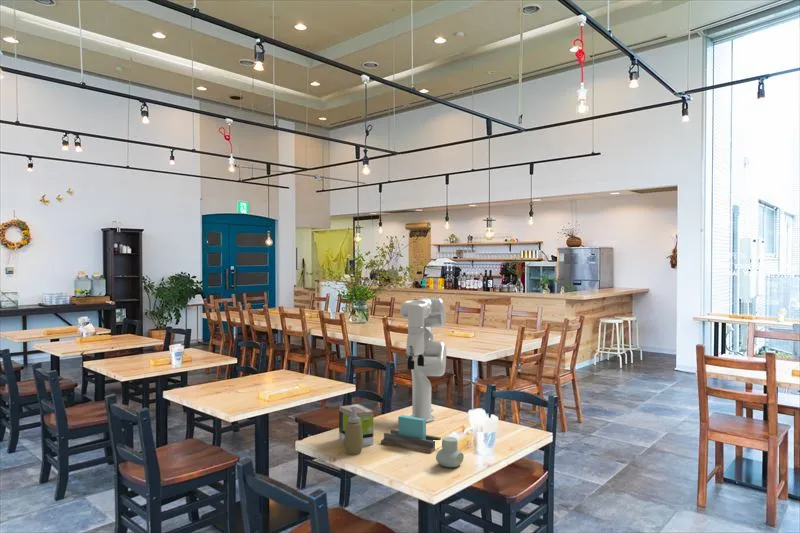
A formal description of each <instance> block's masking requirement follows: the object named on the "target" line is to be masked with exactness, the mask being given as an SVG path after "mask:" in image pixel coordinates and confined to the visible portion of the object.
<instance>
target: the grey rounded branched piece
mask: <svg viewBox="0 0 800 533" xmlns="http://www.w3.org/2000/svg"><path fill="white" fill-rule="evenodd" d="M441 441H442V446H441V449H438V451H437V453H436V455H435V460H436V462H437V463H438V465H440V466H441V467H445V468H457V467H459V466H460V465H462V463H463V462H464V454H463V452H462V451H461V450H460V449H458V448H459V447H458V445H459V444H458V439H457V438H456V437H452V436H446V437H443V438H442V440H441Z"/></svg>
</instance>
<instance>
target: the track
mask: <svg viewBox="0 0 800 533" xmlns="http://www.w3.org/2000/svg"><path fill="white" fill-rule="evenodd" d="M433 440H441V437H440V436H435V435H429V434H426V440H425V439H420V438H414V437H408V436H403V435H398V429H395V428H391V429H390V432H386V431H385V432H384V433H383V439H380V444H381V445H384V446H385V445H386V446H390V447H395V448H401V449H406V450H410V451H411V450H412V451H417V452H422V453H427V454H433V453H434V452H435V451H436V450H435V441H433ZM441 441H442V440H441Z"/></svg>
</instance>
